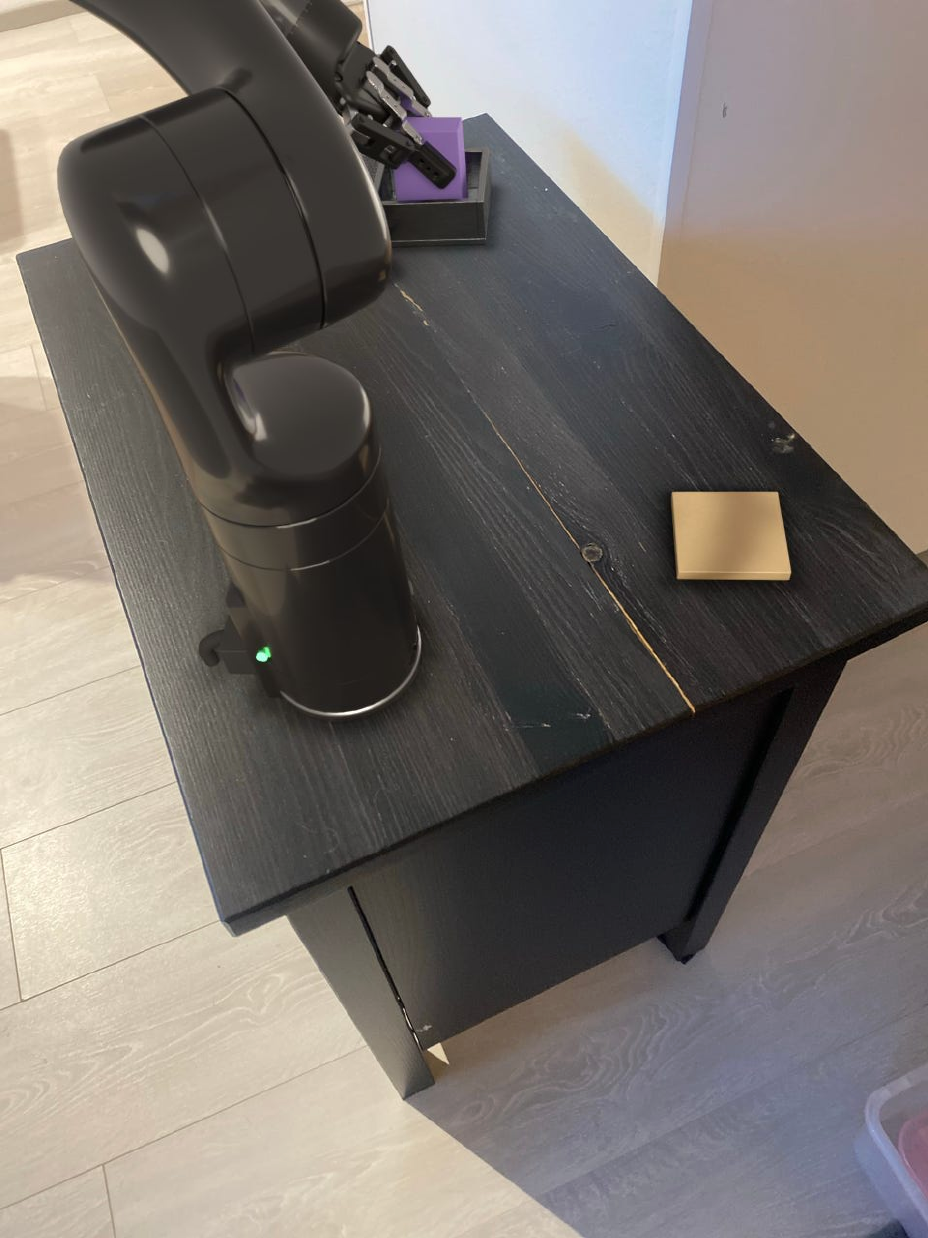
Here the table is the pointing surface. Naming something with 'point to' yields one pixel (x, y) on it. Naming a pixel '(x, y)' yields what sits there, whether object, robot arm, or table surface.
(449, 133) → the purple rectangular block
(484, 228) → the black tray
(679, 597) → the table surface
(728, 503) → the coaster
